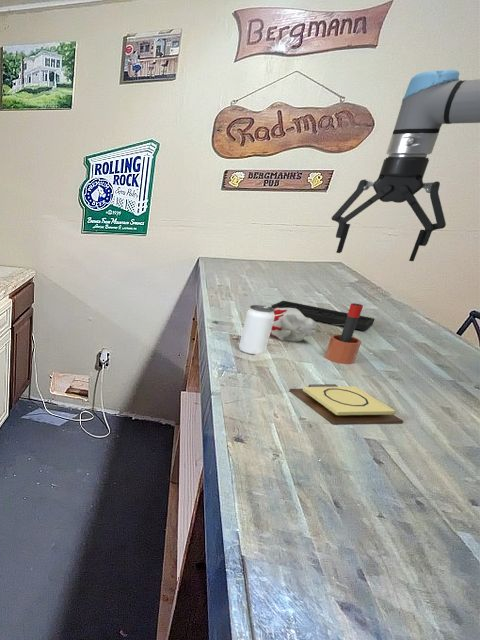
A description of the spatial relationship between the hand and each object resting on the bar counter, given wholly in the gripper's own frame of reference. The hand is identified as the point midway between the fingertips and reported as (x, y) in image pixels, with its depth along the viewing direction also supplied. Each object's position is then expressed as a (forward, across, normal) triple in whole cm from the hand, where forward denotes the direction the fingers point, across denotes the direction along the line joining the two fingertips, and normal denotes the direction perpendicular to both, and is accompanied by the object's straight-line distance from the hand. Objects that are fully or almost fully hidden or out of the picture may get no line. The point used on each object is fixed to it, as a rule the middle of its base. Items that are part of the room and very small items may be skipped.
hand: (373, 256), depth 106 cm
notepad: (+25, +5, -28) cm, 38 cm away
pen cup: (+27, 0, 0) cm, 27 cm away
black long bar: (+27, -11, +34) cm, 45 cm away
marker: (+26, 0, 0) cm, 26 cm away
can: (+27, -18, -8) cm, 34 cm away
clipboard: (+27, +5, -28) cm, 39 cm away
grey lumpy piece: (+27, -16, +8) cm, 32 cm away
